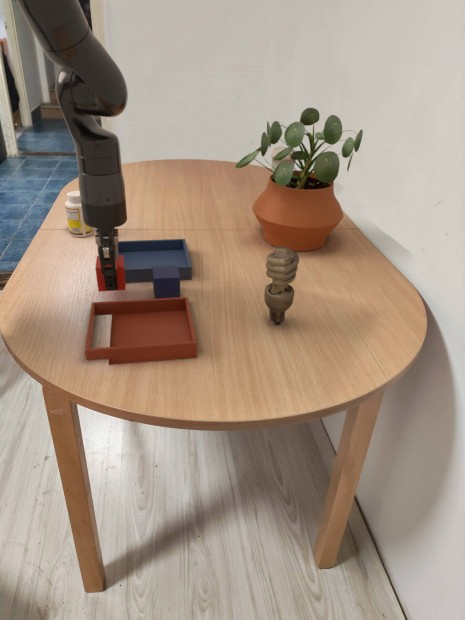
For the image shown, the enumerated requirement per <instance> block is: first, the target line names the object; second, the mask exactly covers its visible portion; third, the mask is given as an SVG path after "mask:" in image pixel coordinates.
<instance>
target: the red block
mask: <svg viewBox="0 0 465 620" xmlns="http://www.w3.org/2000/svg"><path fill="white" fill-rule="evenodd" d="M105 266H112V265H105ZM116 268H117V284H118V289H117V290H106V288H105V280H104V275H102V273H101V264H100V260H99V257H98V255H97V256H96V260H95V274H96V283H97V291H98V292H117V291H126V290H127V289H126V287H127V286H126V285H127V283H126V277H125V265H124V255H118V259H117V260H116Z"/></svg>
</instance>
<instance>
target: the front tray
mask: <svg viewBox="0 0 465 620" xmlns="http://www.w3.org/2000/svg"><path fill="white" fill-rule="evenodd" d="M106 315H109V316H110V315H111V319H110V320H111V321H110V322H111V323H110V336H109V339H110V340H109V346H107V347H94V348H93V342H94V340H93V339H94V333H95V325H96V316H106ZM88 319H89V320H88V327H87V334H86V340H85V346H84V347H85V348H84V354H85V360H86V361H94V360H106V359H108V365H119V364H120V365H121V364H131V363H143V362H154V361H155V362H156V361H168V360H180V359H191V358H193V359H194V358H197V357H198V341H197V336H196V335H197V334H196V331H195V326H194V325H195V324H194V320H193V316H192V310H191V306H190V301H189V296H180V297H177V298H159V299H154V298H145V299H144V298H143V299H127V300H111V301H92V302H91V305H90V312H89V318H88Z"/></svg>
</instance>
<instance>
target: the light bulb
mask: <svg viewBox="0 0 465 620" xmlns="http://www.w3.org/2000/svg"><path fill="white" fill-rule="evenodd" d="M265 260H266V263H265V268H266V271H265V275H266V276H267V277H268V278H269V279H271V282H270V283H269V284H266V286H265V287H264V294H263V295H264V299H263V300H264V303H265V305H266V307H267V308H268V310H269V311H268V312H269V314H268V315H269V321H270V322H273V323H274V324H275V325H280V324H281V323H283V322H284V321H285V319H286V316H285V315H286V312H287V310H288V309H290V308H291V307H292V305H293V302H294V297H295V289H294V287H293V286H292V285H291V283H293V282H294V281H295V279H296V277H297V271H298V267H299V266H298V265H299V262H300V256H299V254H298V253H297V251H293V250H292V249H290V248H287V247H282V246H278V247H275V246H274V248H273V252H270V253H268V254H267V255H266V257H265Z"/></svg>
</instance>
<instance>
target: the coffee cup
mask: <svg viewBox="0 0 465 620" xmlns="http://www.w3.org/2000/svg"><path fill="white" fill-rule="evenodd" d="M286 148H288V146H277V147H273V149H272V151H271V152H270V156H271V170H272V171H273V172H274V171H275V169H276V167H277V166H278V165H279V164H280V163H282V162H290V163H291V164H292V165H293V167H294V168H295V166H296V163H295V162H297V160H295V162H294V161H293V159H291V158H290V155H291V154H292V153H293V152H292V151H291V152H290V153H289V154H290V155H289V154H288V155H287V156H286V157H285V158H283V159H281V160H277V161H274V160H273V159H274V157H275V156H276V155H277V154H278V153H279V152H281V151H282V150H284V149H286ZM293 151H294V152H295V151H297V149H295V148H293ZM272 166H273V167H274V168H275V169H274V168H273V167H272ZM294 168H293V170H295V169H294ZM272 174H274V173H272V172H271V175H272Z"/></svg>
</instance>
